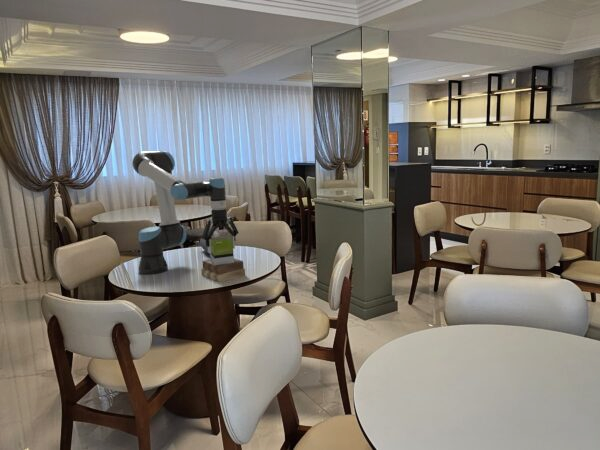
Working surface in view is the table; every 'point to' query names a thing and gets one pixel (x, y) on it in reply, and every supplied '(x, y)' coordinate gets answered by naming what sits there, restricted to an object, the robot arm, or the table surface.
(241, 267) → the walnut slab
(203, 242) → the bluetooth speaker
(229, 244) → the tea box
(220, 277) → the oak slab
